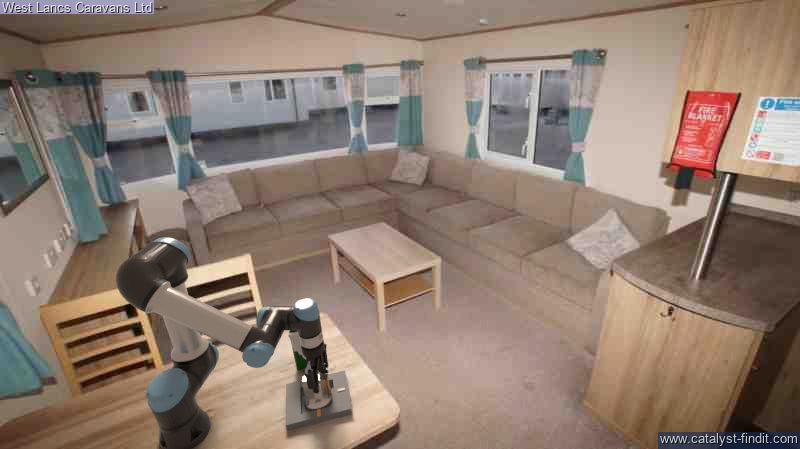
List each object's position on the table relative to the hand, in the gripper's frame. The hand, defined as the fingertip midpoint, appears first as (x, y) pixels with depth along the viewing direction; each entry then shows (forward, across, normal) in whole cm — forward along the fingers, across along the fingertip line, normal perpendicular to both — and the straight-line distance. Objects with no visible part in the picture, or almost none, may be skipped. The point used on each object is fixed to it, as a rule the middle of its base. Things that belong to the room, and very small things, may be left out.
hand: (321, 392), depth 135 cm
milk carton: (+4, +15, +14) cm, 21 cm away
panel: (+4, -1, +2) cm, 4 cm away
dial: (+4, -1, +2) cm, 4 cm away
